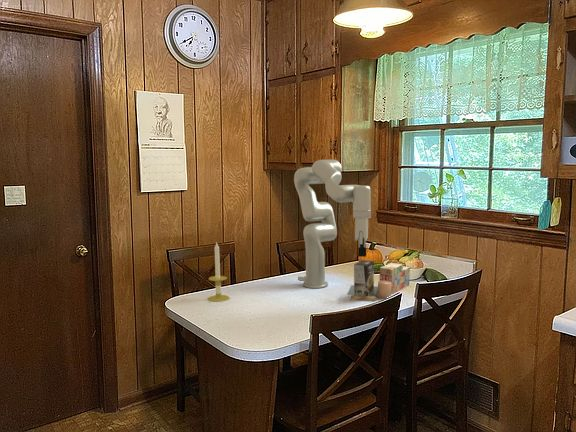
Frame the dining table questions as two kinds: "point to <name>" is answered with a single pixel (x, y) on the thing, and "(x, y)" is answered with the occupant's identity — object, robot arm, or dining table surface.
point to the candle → (218, 279)
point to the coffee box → (364, 278)
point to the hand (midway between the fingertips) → (362, 256)
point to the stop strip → (363, 298)
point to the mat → (351, 290)
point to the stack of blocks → (395, 276)
